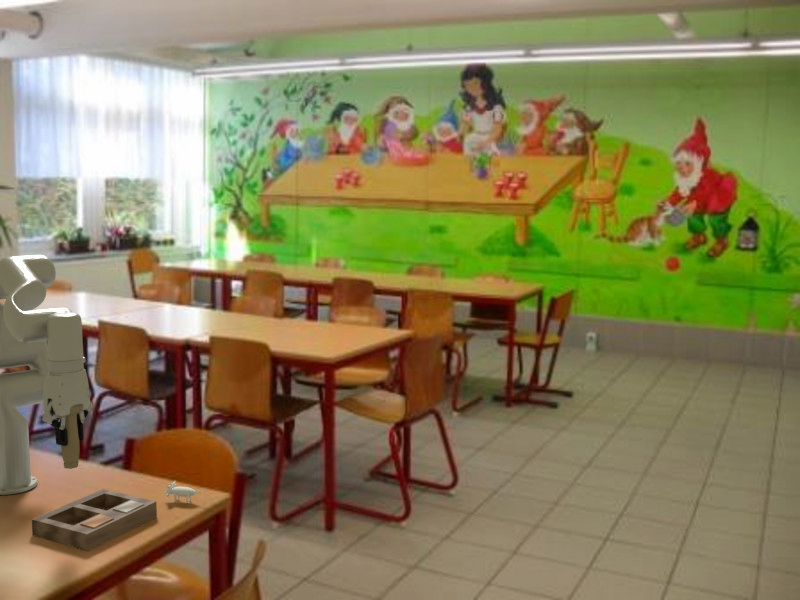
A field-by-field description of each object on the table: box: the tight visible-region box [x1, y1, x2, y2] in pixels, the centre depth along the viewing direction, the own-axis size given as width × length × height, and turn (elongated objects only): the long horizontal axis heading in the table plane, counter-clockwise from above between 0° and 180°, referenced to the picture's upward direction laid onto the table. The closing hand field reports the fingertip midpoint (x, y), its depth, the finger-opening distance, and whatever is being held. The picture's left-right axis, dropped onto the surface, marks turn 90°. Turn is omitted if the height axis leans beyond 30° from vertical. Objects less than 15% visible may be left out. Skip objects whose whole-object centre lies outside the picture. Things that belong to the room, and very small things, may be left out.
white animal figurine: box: [164, 480, 208, 504], centre depth 214 cm, size 12×5×5 cm, turn 77°
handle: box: [60, 404, 83, 470], centre depth 192 cm, size 5×6×15 cm
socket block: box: [31, 488, 158, 552], centre depth 199 cm, size 18×22×4 cm
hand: (69, 441), depth 192 cm, fingers closed on handle, 3 cm apart
